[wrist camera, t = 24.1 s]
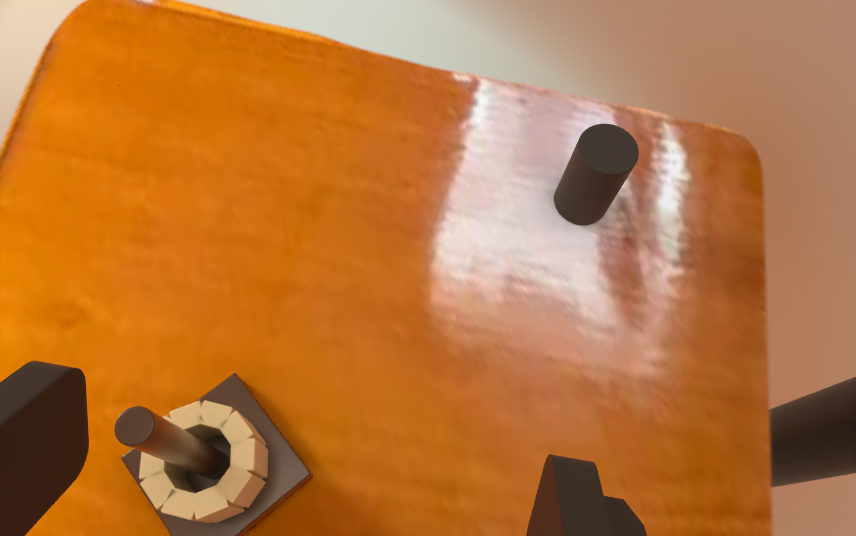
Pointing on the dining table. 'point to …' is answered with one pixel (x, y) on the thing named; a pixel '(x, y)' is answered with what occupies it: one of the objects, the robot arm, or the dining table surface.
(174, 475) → the beige thick ring
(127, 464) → the stand
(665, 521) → the dining table surface
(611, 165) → the cylinder
